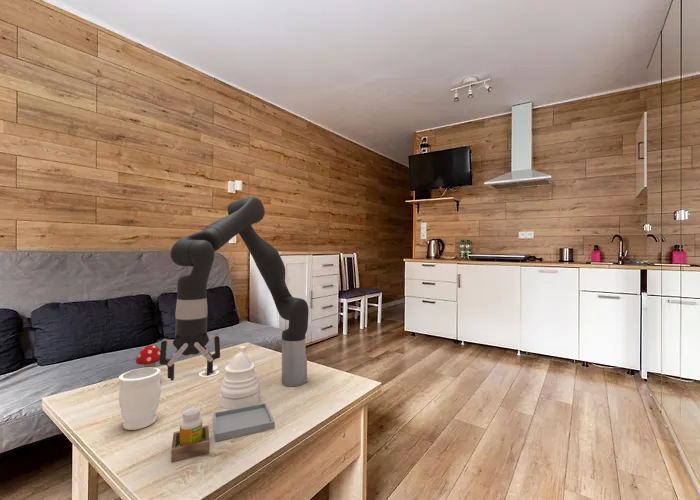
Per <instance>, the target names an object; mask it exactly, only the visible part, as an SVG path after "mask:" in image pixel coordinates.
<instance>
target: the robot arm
mask: <svg viewBox="0 0 700 500" xmlns="http://www.w3.org/2000/svg"><path fill="white" fill-rule="evenodd" d="M227 214H228V215H226V216H223V217H222V218H220V219H217V220H216V221H213V222H212V223H210V224H209V225H207V226H206V227H204V228H203V229H202V230H200V231H197V232H195V233H190V234H189V235H187V236H184V237H182V238H180V239H178V240H176V242H175V243H174V244H173V245H172V246H171V249H170V253H169V254H170V259H171V261H172V262H173V263H174V264H176V265H177V266H181V267H193V268H192V270H191V272H190V274H188V275H183V276H181V277H179V278H178V279H177V288H176V289H177V290H176V291H177V292H176V294H177V295H176V306H175V316H174V317H175V334H174V335H175V336H174V338H173V339H167V338H163V339H162V340H161V343H160V361H158V362H159V363H158V364H159V365H162V366H163V365H165V366H167V378H168V379H170V381H174V380H175V362H176V361H177V360H178V359H179V358H180V356H181V355H182V356H189V355H194V356H195V355H198V354H201V355H202V356H203V357H204V358H205V359H206V364H207V374H206V376H210V375H211V374H212V373H213V372H214V371H213V366H214V361H215V360H217V359H220V358H221V348H220V347H221V346H220V345H221V343H220V341H221V340H220V335H219V334H214V335H211V336H209V335H208V313H209V312H208V299H207V293H208V291H207V290H208V288H207V287H208V281H209V277H210V273H211V270H212V266H213V264H214V259H215V252H217V251H218V250H220V249H221V248H222V247H224V246H225V245H226V244H227V243H228V242H229V241H230V240H232V239H233V238H234V237H236V236H237V235H238V234H239V236H240V238H241V240H242V241H243V243H244V244H245V246H246V247H247V249H248V251H249V253H250V255H251V257H252V258H253V261H254V263H255V265H256V268H257V269H258V271H259V273H260V275H261V277H262V278H263V280H264V283H265V285H266V286H267V288H268V290H269V292H270V295H271V298H272V299H273V301H274V302H273V303H274V305H275V307H276V310H277V313H278V315H279V316H280V318H282V319H283V320H285V321H288V327H287V329H284V330H283V331H282V333H281V385H283V386H286V387H297V386H301V385H303V384H306V383H307V382H308V357H307V356H306V347H307V346H306V345H307V344H306V338H307V337H306V334H307V331H308V328H309V327H308V326H309V314H310V313H309V305H308V303H307V300H305V299H303V298H299V297H296V296H295V297H293V296H292V294H291V292H290V290H289V288H288V287H287V284H286V283H287V282H286V267H285V263H284V261H283V260H282V256H281V255H280V252H279V251H278V250H277V249H276V248H275V247H274V246H273V245H272V244H270V243H269V242H267V241H266V240H265V239H263V238H262V237H261V236H260V235H259V234H258V233H257V232H256V231H255V229H254V227H253V225H254V224H257V223H259V222H261V221H262V220H263V219H264V218H265V214H266V213H265V206H264V204H263V202H262V201H261V200H260V198H259V197H255V196H247V197H244V198H240V199H238V200H234V201H231V202H230V203H229V204H228V206H227ZM209 342H211V344H212V345H214V353H211V352H210V351H209V350H208V348H207V347H206V346H207V344H208V343H209ZM171 345H173V346H174V347H175V349H176V350H175V352H173V354H172V356H171V357H170V358H168V357H167V350H168V349H170V347H171ZM212 371H213V372H212ZM210 373H211V374H210ZM210 377H211V376H210Z"/></svg>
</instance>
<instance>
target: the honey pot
mask: <svg viewBox="0 0 700 500" xmlns="http://www.w3.org/2000/svg"><path fill="white" fill-rule="evenodd" d="M238 350H239V352H237V353H236V354H235V355H234V356H233V358H232V359H231V361H230V362H229V364H227V365H225V368H224V371H225V375H224V377H223V381H222V384H221V385H220V391H219V392H220V395H219V397H220V401H219V402H220V407H221V408H223V409H226V410H230V409H235V408H240V407H246V406H251V405H256V404H258V403H259V401H260V394H261V393H260V391H261V390H260V385H261V384H260V382H259V379H258V376H257V373H256V371H255V368H256V365H255V363H254V362H252V361H251V359H250V358H249V356H247V354H246V353H245V352H246V350H247V346H246V345H241V346H238Z"/></svg>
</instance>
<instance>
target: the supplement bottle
mask: <svg viewBox="0 0 700 500" xmlns="http://www.w3.org/2000/svg"><path fill="white" fill-rule="evenodd" d="M200 414H201V413H200V409H199V408H197V407H191V408H187V409H185V410H184V411H183V412H182V420H181V421H180V423H179V431H180V444H179V447H180V446H184V445H189V444H193V443H198V442H202V441H203V439H202V426H203V418H202V417H201V416H200Z"/></svg>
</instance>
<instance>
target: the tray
mask: <svg viewBox="0 0 700 500" xmlns="http://www.w3.org/2000/svg"><path fill="white" fill-rule="evenodd" d="M212 413H213V414H212V416H213V417H212V421H213V430H214V440H215V443H216V442H220V441H225V440H229V439H234V438H238V437H242V436H248V435H252V434H257V433H261V432H265V431H269V430H270V431H271V430H273V429H275V420H274V417H273V415H272V412H271V411H270V408H269V406H268V404H267V402H263V403H256V404H255V405H251V406H246V407H240V408H235V409H226V410H219V411H215V412H212Z"/></svg>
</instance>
